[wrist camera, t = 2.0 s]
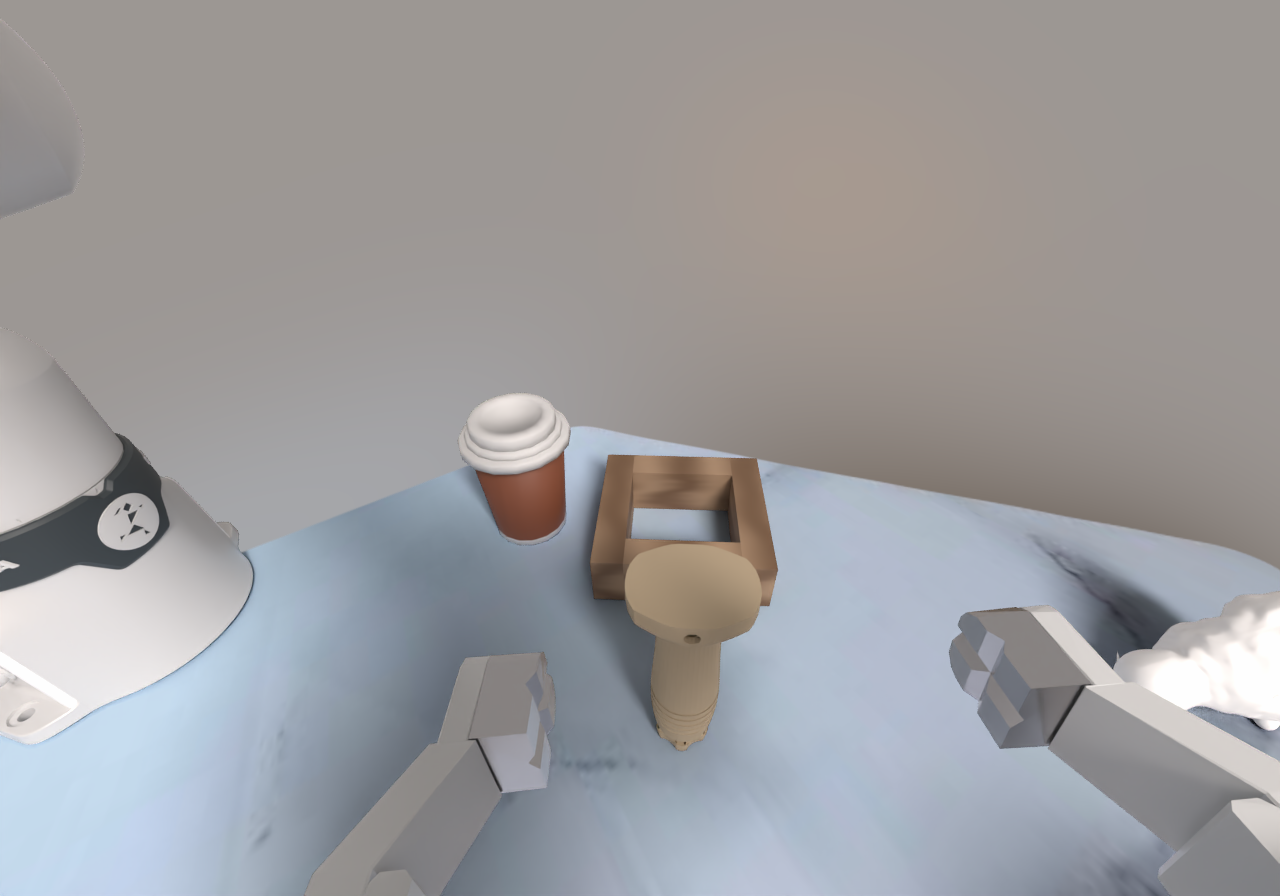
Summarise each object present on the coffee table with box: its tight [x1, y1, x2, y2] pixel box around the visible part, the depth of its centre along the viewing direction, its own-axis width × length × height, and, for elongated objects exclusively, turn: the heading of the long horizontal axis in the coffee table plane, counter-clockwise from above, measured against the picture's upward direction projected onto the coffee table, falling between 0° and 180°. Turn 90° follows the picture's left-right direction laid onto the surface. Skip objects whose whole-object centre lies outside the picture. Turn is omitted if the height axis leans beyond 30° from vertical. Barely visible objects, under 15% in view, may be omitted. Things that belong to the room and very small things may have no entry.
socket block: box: [590, 455, 778, 606], centre depth 44 cm, size 14×13×4 cm
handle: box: [625, 544, 762, 751], centre depth 29 cm, size 5×6×15 cm
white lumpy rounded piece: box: [1113, 591, 1280, 730], centre depth 32 cm, size 6×8×12 cm
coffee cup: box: [458, 393, 571, 545], centre depth 45 cm, size 9×9×12 cm
